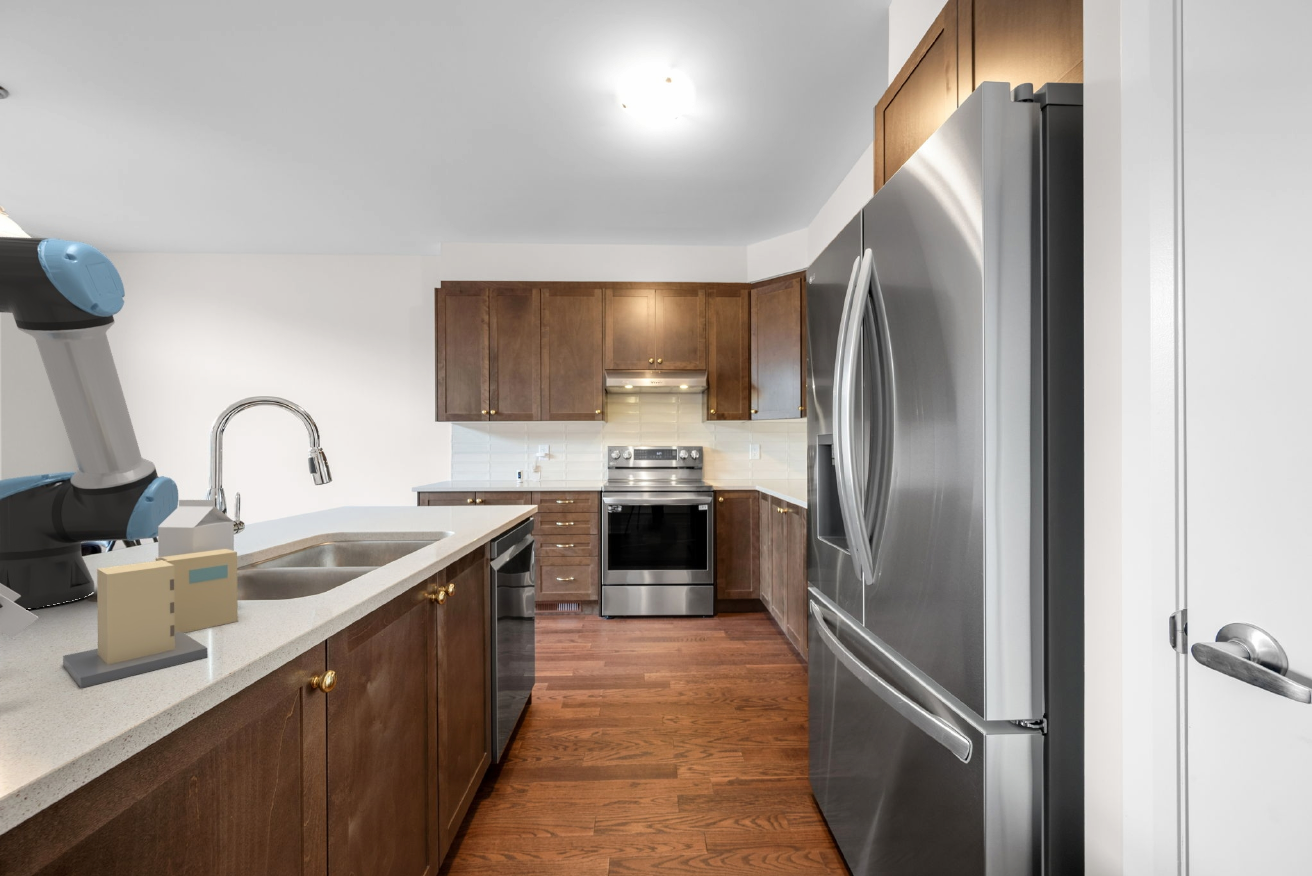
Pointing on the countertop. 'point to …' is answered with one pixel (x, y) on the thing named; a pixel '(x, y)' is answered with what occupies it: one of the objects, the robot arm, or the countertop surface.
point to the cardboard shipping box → (204, 589)
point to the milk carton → (195, 529)
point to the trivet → (130, 662)
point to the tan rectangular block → (135, 610)
